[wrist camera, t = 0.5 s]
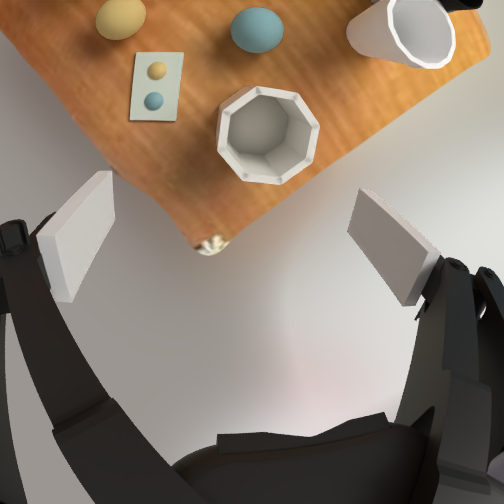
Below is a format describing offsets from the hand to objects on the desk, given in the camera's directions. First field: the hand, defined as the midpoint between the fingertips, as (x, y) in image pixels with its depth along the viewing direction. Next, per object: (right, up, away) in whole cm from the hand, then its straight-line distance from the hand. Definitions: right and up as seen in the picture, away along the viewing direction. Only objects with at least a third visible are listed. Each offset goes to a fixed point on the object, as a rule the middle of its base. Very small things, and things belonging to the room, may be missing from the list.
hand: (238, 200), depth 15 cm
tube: (+1, +14, +21) cm, 25 cm away
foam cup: (+16, +27, +15) cm, 35 cm away
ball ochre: (-15, +26, +11) cm, 32 cm away
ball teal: (+1, +24, +14) cm, 28 cm away
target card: (-11, +18, +16) cm, 26 cm away
